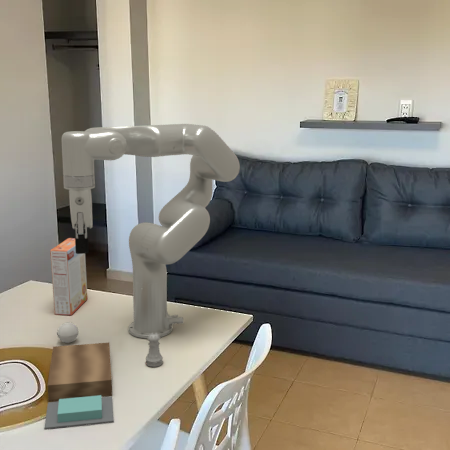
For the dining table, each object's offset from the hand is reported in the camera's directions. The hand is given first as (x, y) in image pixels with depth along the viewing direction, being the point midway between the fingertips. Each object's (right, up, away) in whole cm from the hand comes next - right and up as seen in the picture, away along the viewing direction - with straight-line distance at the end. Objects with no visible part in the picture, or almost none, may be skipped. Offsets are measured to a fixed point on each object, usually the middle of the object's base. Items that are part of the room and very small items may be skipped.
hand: (82, 252), depth 150 cm
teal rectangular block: (+5, -31, -24) cm, 40 cm away
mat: (+5, -34, -23) cm, 41 cm away
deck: (+2, -30, -8) cm, 31 cm away
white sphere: (-6, -26, +10) cm, 28 cm away
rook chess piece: (+18, -28, 0) cm, 34 cm away
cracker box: (-12, -19, +36) cm, 42 cm away
